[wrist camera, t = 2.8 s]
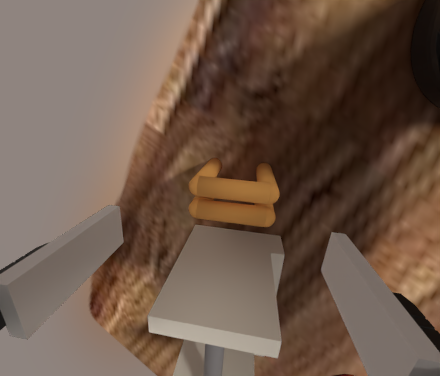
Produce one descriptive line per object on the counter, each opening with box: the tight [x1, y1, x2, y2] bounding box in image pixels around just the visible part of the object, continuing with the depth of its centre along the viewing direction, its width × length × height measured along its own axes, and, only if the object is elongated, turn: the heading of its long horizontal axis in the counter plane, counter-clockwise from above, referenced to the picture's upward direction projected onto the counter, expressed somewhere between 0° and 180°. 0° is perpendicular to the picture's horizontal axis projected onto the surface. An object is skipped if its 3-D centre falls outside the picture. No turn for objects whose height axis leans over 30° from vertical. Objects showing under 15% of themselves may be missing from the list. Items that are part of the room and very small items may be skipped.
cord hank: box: [189, 158, 280, 227], centre depth 21 cm, size 8×4×9 cm, turn 86°
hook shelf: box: [148, 225, 285, 376], centre depth 25 cm, size 18×12×14 cm, turn 176°
